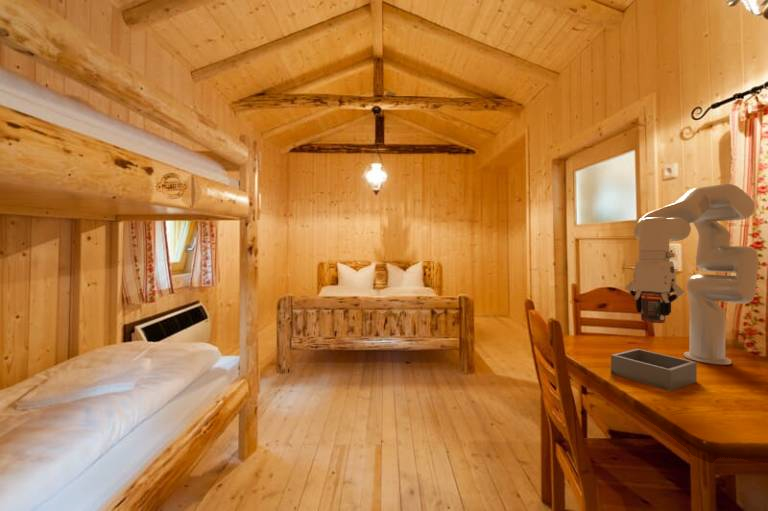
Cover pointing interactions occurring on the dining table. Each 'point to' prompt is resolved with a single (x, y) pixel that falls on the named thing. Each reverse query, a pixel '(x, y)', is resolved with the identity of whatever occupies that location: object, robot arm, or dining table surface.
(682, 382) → the bin
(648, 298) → the supplement bottle
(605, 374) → the dining table surface
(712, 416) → the dining table surface
